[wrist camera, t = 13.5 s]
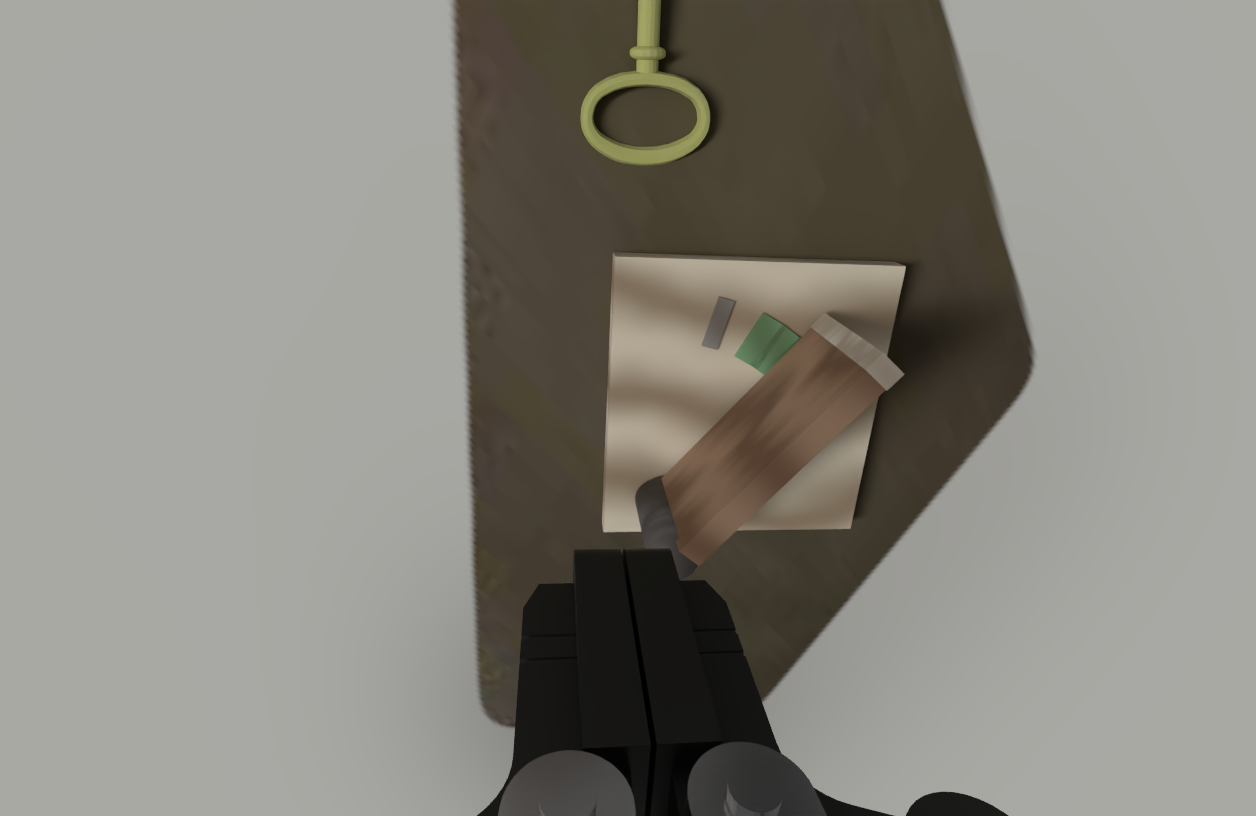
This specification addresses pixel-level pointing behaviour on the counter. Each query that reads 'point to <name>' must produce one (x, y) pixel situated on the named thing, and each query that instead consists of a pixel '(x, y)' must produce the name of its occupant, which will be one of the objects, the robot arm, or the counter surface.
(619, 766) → the robot arm
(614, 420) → the beige flat square sheet
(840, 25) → the counter surface
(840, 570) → the counter surface
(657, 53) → the key
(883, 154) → the counter surface
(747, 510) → the brown wood panel
